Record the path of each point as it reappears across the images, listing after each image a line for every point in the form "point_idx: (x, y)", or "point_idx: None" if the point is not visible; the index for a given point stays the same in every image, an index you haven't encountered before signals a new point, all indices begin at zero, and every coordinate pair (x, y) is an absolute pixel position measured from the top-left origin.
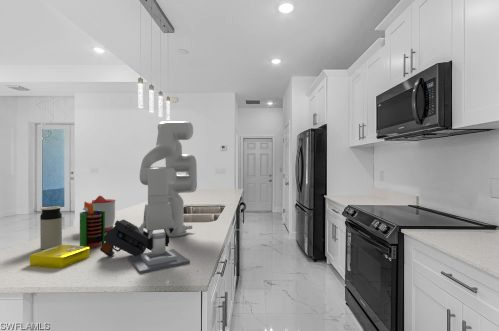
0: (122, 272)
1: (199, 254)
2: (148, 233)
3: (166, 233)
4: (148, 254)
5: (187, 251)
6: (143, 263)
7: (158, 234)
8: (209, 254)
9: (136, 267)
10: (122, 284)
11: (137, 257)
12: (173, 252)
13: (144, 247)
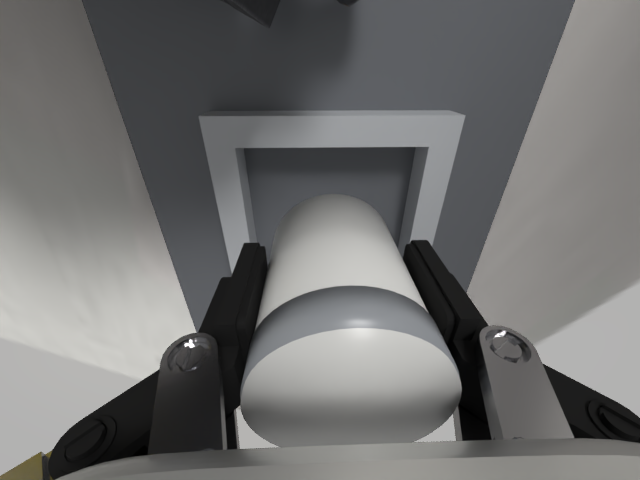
0: (110, 270)
1: (600, 224)
2: (190, 405)
3: (465, 395)
4: (268, 145)
5: (625, 99)
6: (220, 252)
7: (330, 441)
8: (631, 255)
9: (180, 275)
10: (137, 372)
11: (178, 84)
12: (492, 131)
13: (232, 6)
